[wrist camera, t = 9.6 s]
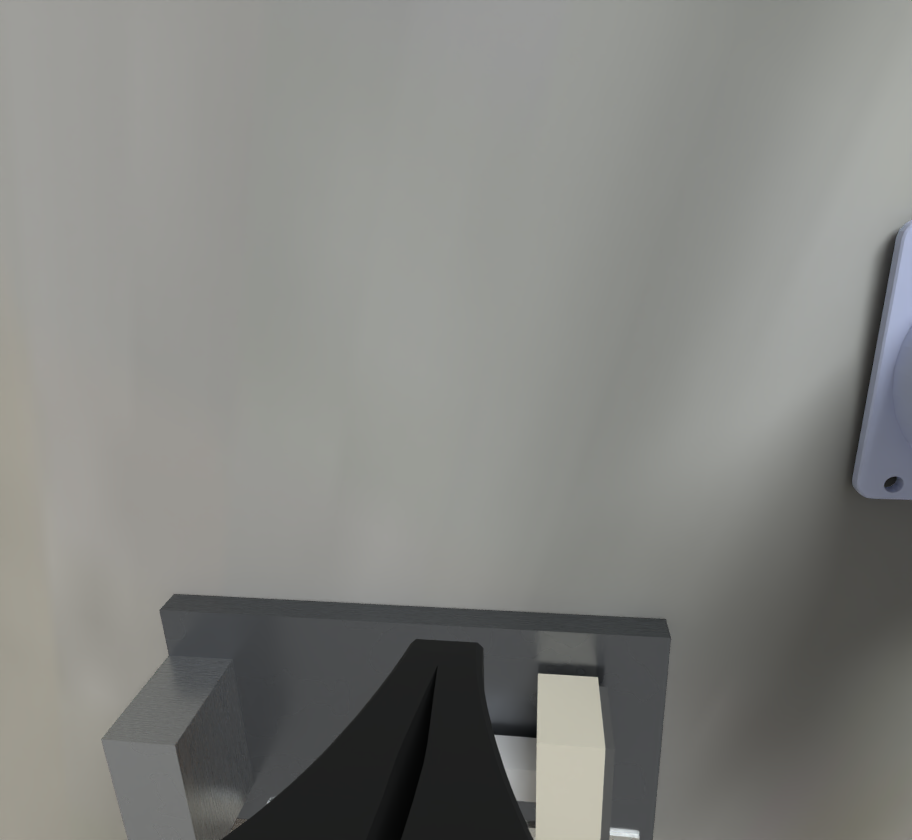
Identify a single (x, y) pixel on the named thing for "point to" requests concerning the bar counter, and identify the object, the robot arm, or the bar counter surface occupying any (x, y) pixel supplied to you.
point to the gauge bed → (353, 700)
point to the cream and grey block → (566, 759)
